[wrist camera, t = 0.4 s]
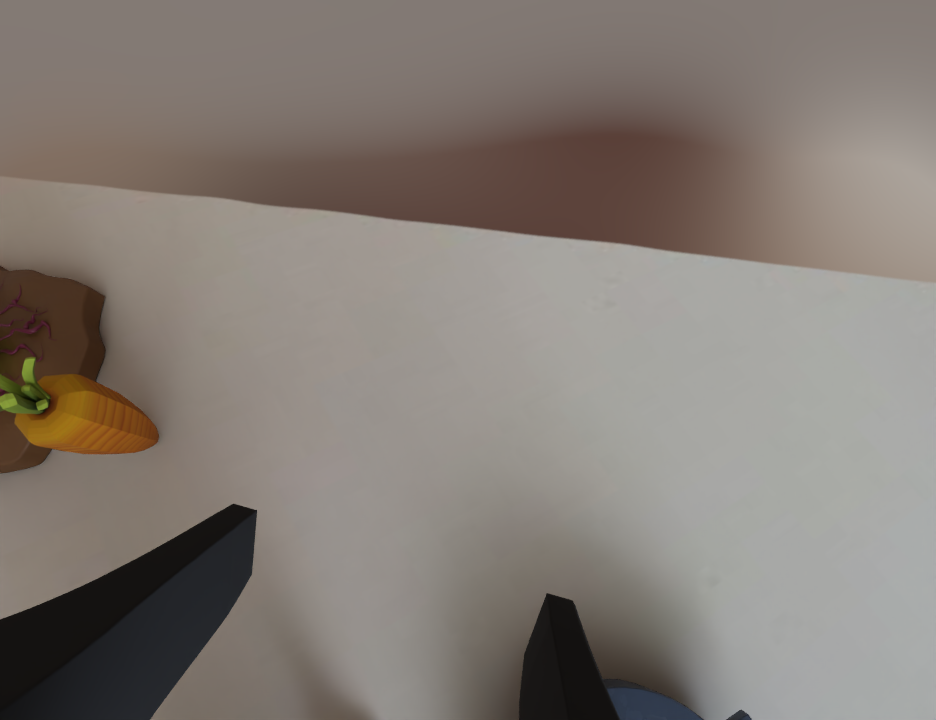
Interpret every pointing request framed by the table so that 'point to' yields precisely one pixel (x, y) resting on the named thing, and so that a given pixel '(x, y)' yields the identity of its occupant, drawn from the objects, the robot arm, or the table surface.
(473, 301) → the table surface
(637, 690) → the pan lid
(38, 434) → the carrot
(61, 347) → the plant
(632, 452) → the table surface
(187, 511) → the table surface
